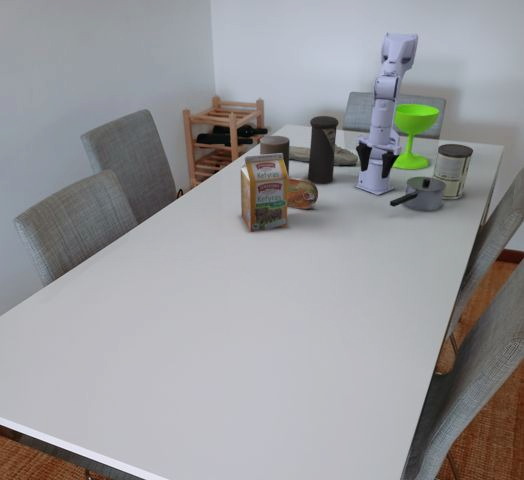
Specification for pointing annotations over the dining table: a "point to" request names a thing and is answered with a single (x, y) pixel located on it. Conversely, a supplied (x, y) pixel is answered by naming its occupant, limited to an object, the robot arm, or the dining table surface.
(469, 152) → the coffee can
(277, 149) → the pillar candle
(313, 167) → the container
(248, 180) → the milk carton
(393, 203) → the saucepan
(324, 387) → the dining table surface
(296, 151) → the elongated rock
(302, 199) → the tin
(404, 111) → the wineglass
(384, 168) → the robot arm
